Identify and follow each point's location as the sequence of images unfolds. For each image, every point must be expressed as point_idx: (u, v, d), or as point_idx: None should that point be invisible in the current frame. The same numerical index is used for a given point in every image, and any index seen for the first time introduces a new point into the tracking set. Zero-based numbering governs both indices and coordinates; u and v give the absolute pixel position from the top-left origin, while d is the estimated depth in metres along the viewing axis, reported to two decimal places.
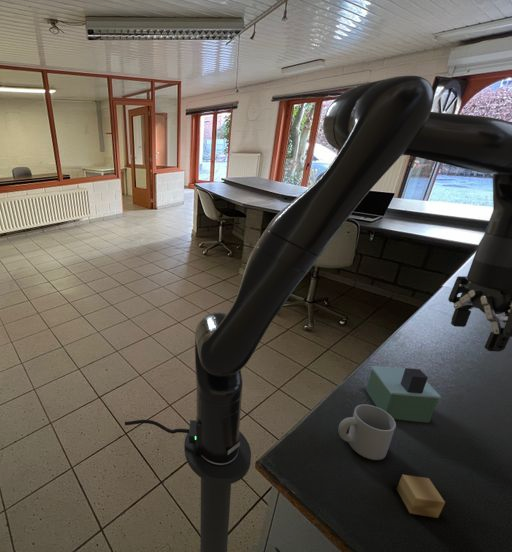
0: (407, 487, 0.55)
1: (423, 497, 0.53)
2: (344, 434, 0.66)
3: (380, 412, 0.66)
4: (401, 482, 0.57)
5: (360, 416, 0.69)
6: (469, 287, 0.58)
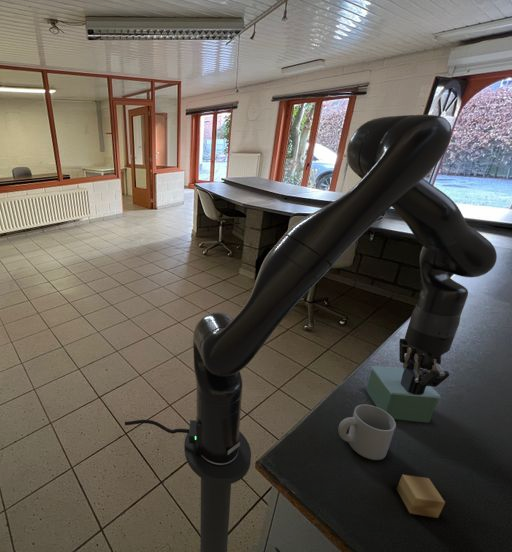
0: (407, 487, 0.55)
1: (423, 497, 0.53)
2: (344, 434, 0.66)
3: (380, 412, 0.66)
4: (401, 482, 0.57)
5: (360, 416, 0.69)
6: (408, 344, 0.71)
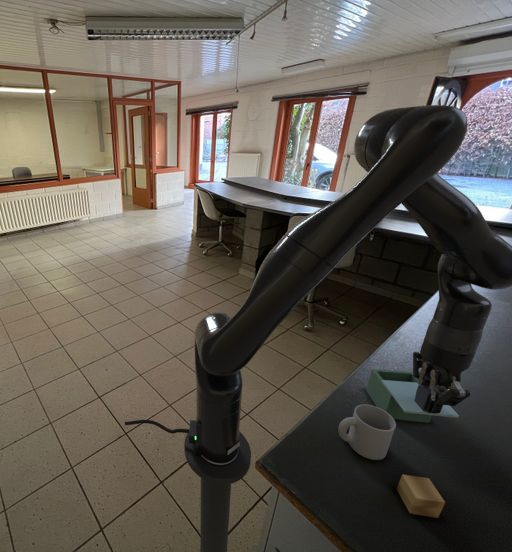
0: (407, 487, 0.55)
1: (423, 497, 0.53)
2: (344, 434, 0.66)
3: (380, 412, 0.66)
4: (401, 482, 0.57)
5: (360, 416, 0.69)
6: (423, 358, 0.66)
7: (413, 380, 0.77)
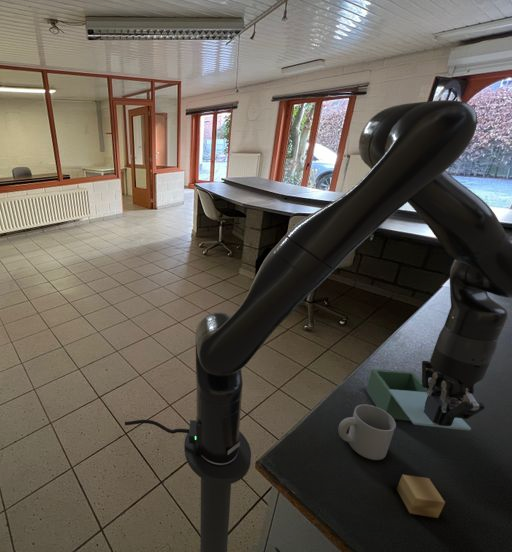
0: (407, 487, 0.55)
1: (423, 497, 0.53)
2: (344, 434, 0.66)
3: (380, 412, 0.66)
4: (401, 482, 0.57)
5: (360, 416, 0.69)
6: (433, 367, 0.63)
7: (413, 380, 0.77)
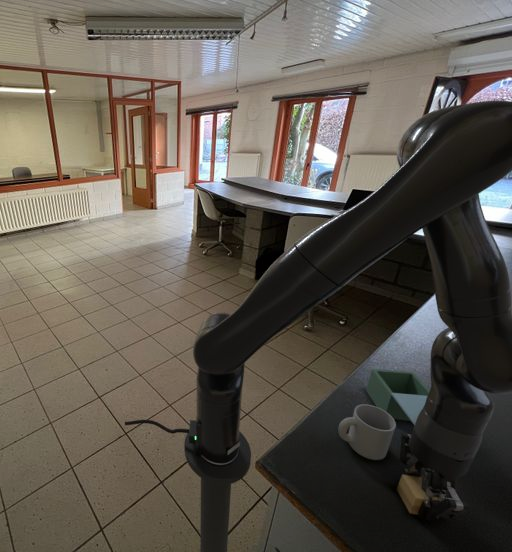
0: (407, 487, 0.55)
1: (423, 497, 0.53)
2: (344, 434, 0.66)
3: (380, 412, 0.66)
4: (401, 482, 0.57)
5: (360, 416, 0.69)
6: None
7: (413, 380, 0.77)
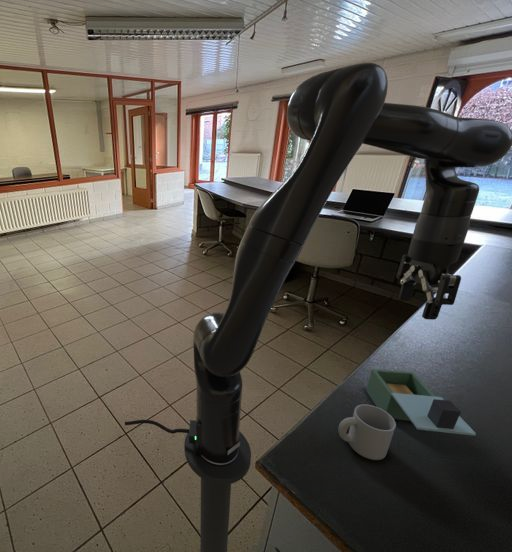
0: None
1: None
2: (344, 434, 0.66)
3: (380, 412, 0.66)
4: None
5: (360, 416, 0.69)
6: (411, 263, 0.64)
7: (413, 380, 0.77)
